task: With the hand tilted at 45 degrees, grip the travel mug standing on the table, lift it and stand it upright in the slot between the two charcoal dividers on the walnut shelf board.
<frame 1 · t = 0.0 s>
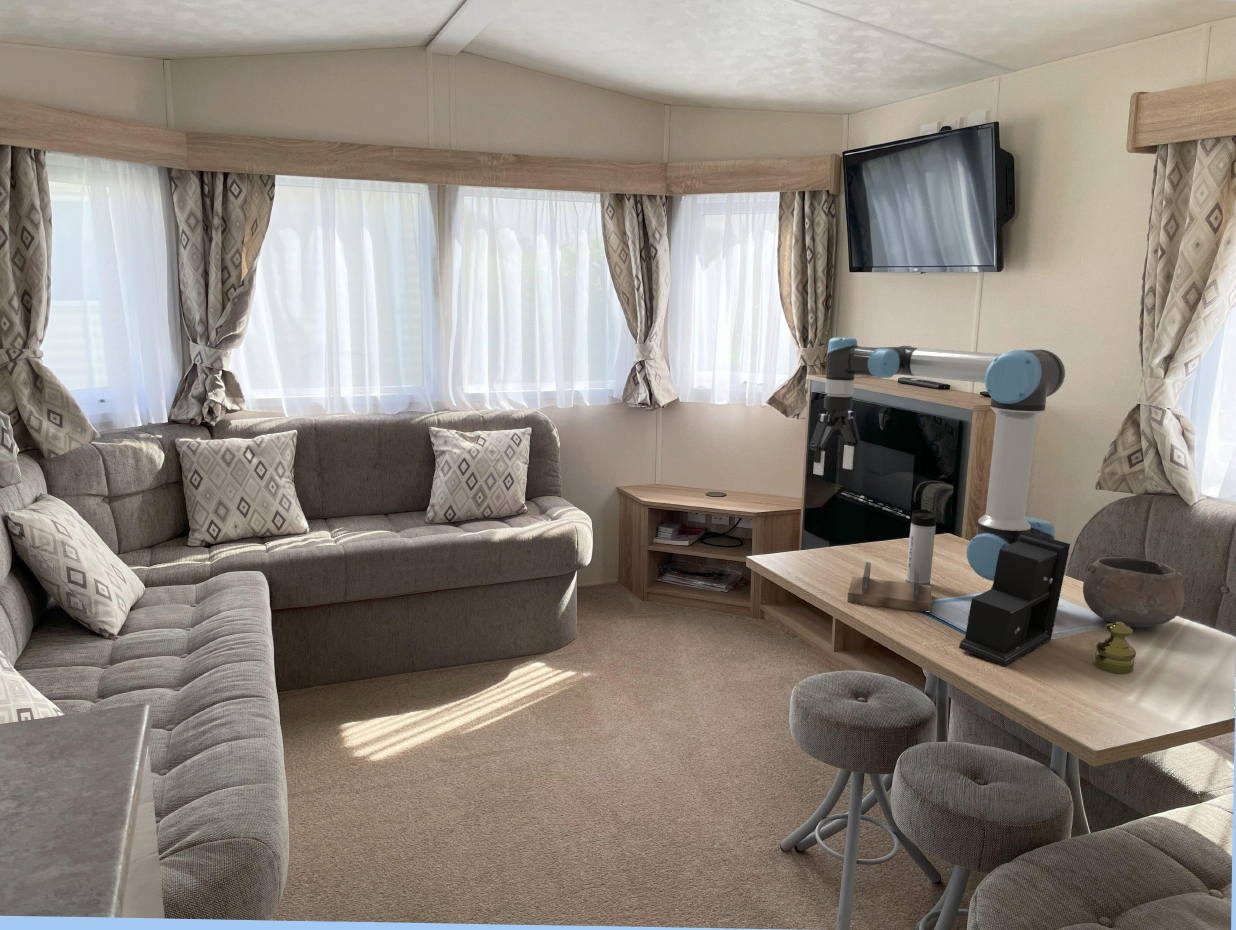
hand: (833, 471, 249), 28 cm above the table, tool pointing down, fingers open, 13 cm apart
clay pot: (1128, 624, 218), on the table
walnut shelf: (889, 598, 231), on the table
travel mug: (917, 584, 244), on the table
green coiled snake figurine: (1113, 668, 192), on the table
black mini cabinet: (1005, 645, 202), on the table
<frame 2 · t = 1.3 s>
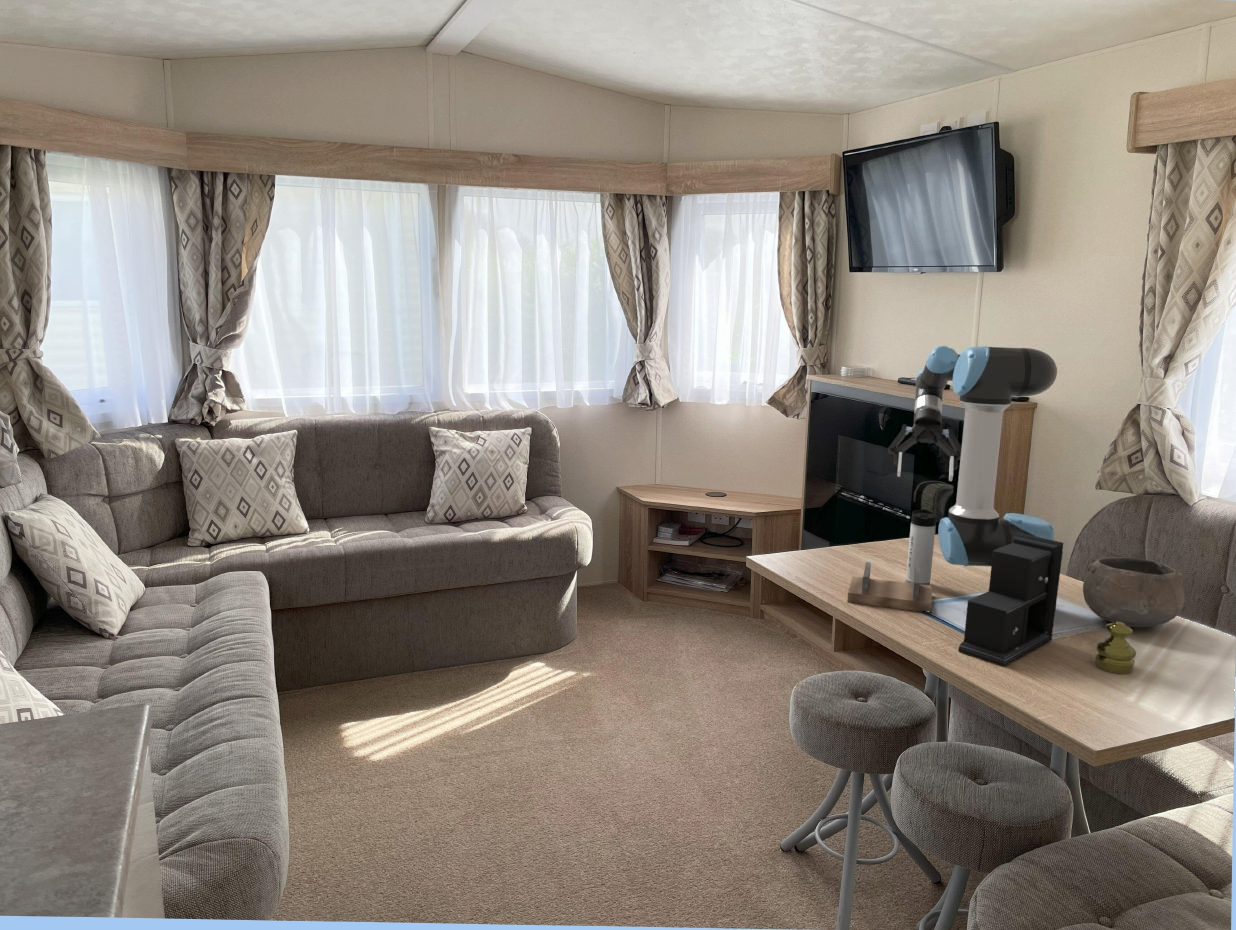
hand: (924, 476, 248), 28 cm above the table, tool tilted 45°, fingers open, 13 cm apart
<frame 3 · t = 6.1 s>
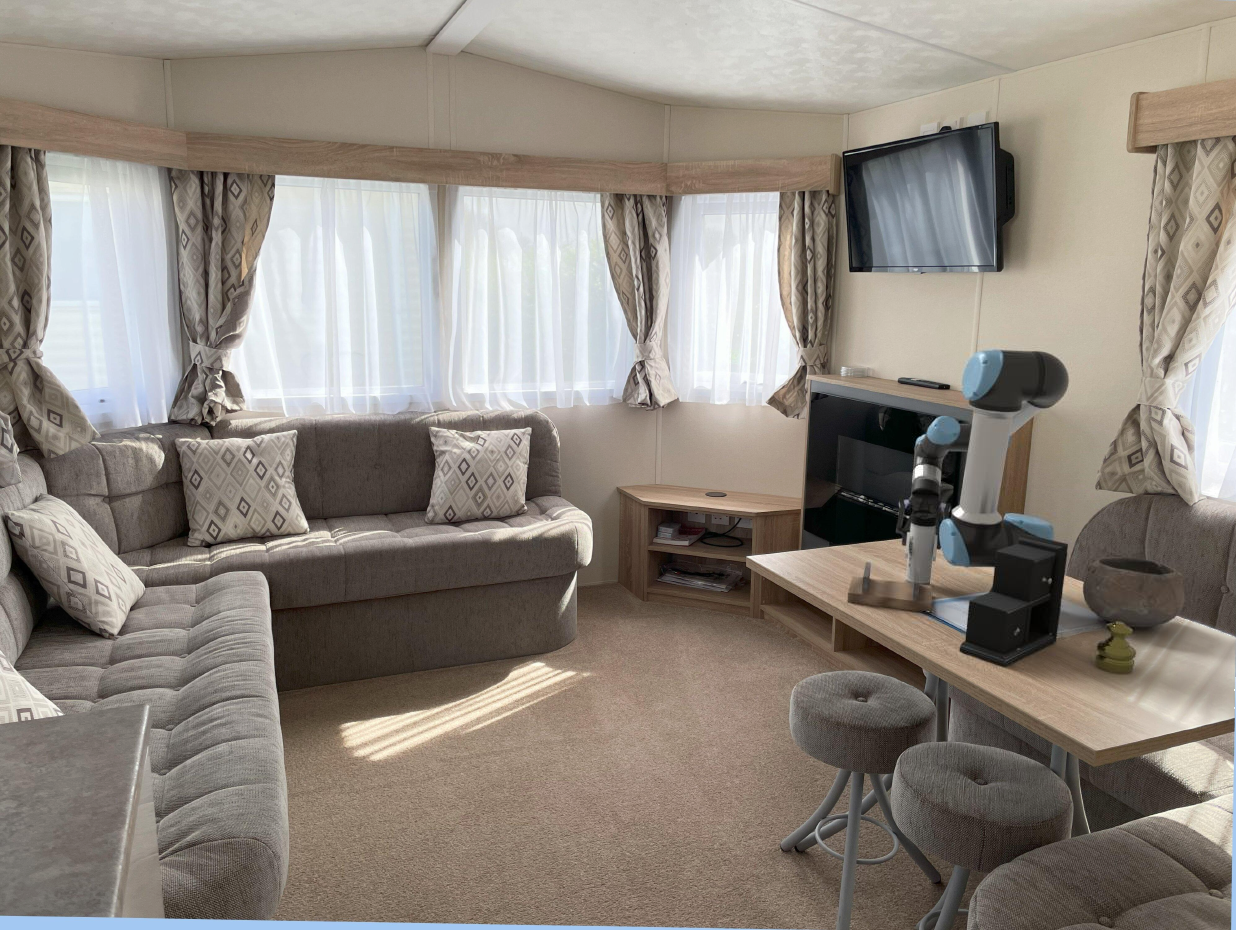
hand: (920, 557, 239), 8 cm above the table, tool tilted 45°, fingers closed on travel mug, 6 cm apart
travel mug: (917, 584, 244), on the table, touching gripper
when the fingers open (12 cm above the table, at t = 11.7 s): travel mug drops 1 cm, resting on walnut shelf.
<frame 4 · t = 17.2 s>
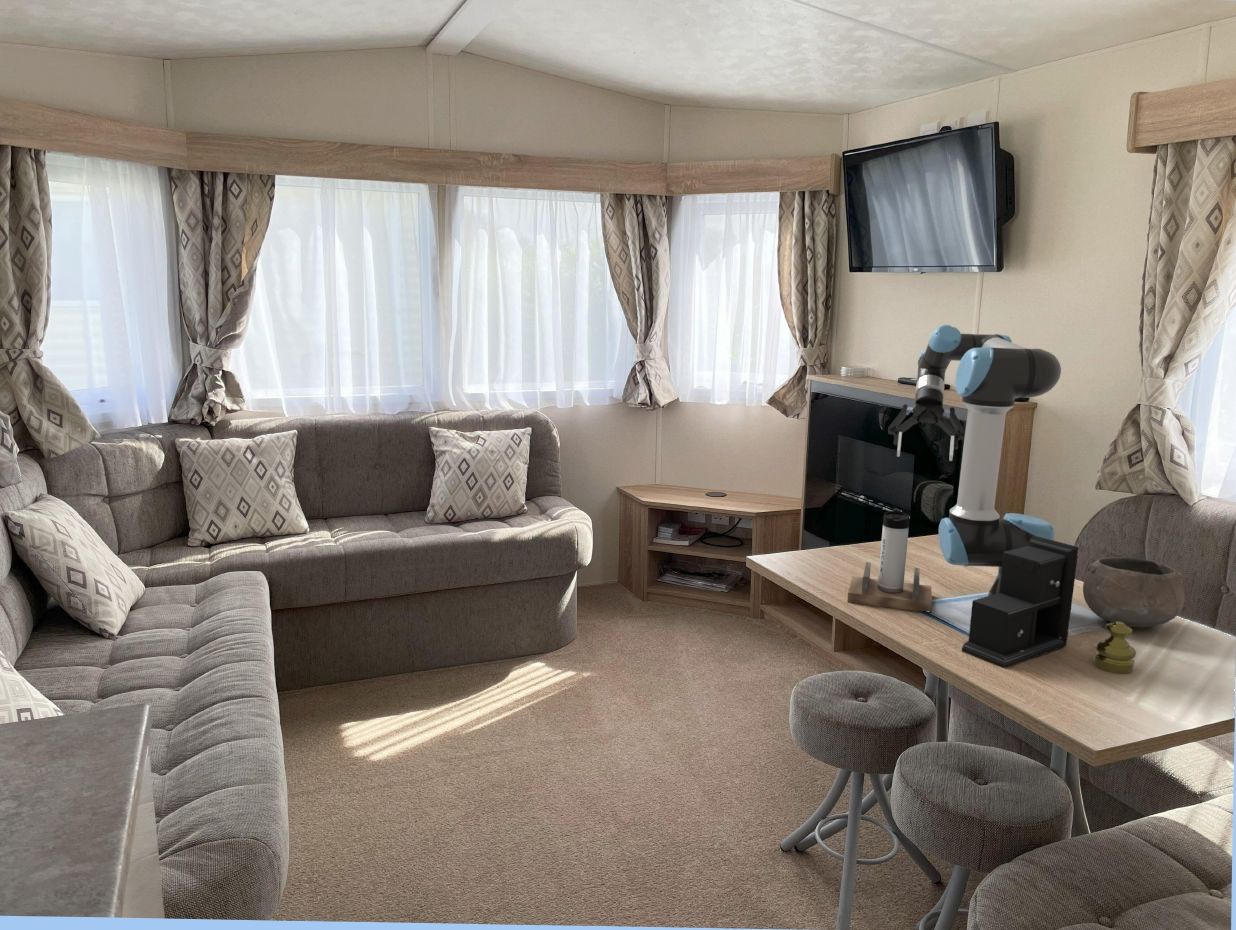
hand: (924, 456, 245), 34 cm above the table, tool tilted 45°, fingers open, 13 cm apart
travel mug: (890, 589, 231), point 2 cm above the table, touching walnut shelf
black mini cabinet: (1014, 650, 201), on the table
everything else where it was.
at the end: travel mug inside the target area on the walnut shelf (0.1 cm from its centre), point 2.3 cm above the walnut shelf's base; travel mug tilted 0°; the gripper is holding nothing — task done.
